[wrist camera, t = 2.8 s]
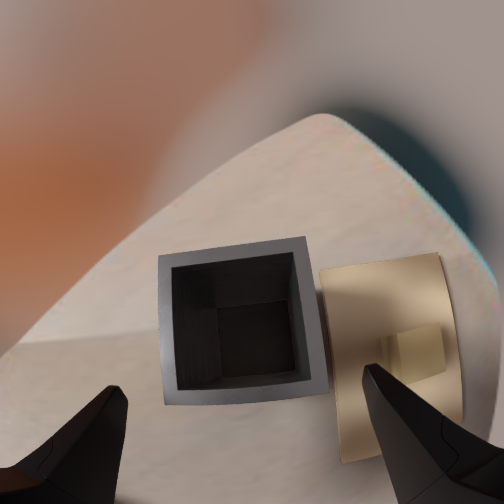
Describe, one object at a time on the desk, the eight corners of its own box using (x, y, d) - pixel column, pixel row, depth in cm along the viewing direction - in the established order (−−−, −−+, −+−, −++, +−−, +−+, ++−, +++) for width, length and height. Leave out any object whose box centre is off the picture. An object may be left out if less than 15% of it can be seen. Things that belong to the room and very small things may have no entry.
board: (452, 419, 15) (484, 427, 10) (338, 457, 15) (353, 480, 11) (429, 258, 20) (455, 236, 16) (317, 276, 20) (327, 254, 16)
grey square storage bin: (305, 377, 17) (329, 392, 9) (214, 386, 18) (164, 404, 9) (294, 290, 20) (305, 236, 11) (207, 300, 20) (158, 255, 12)
